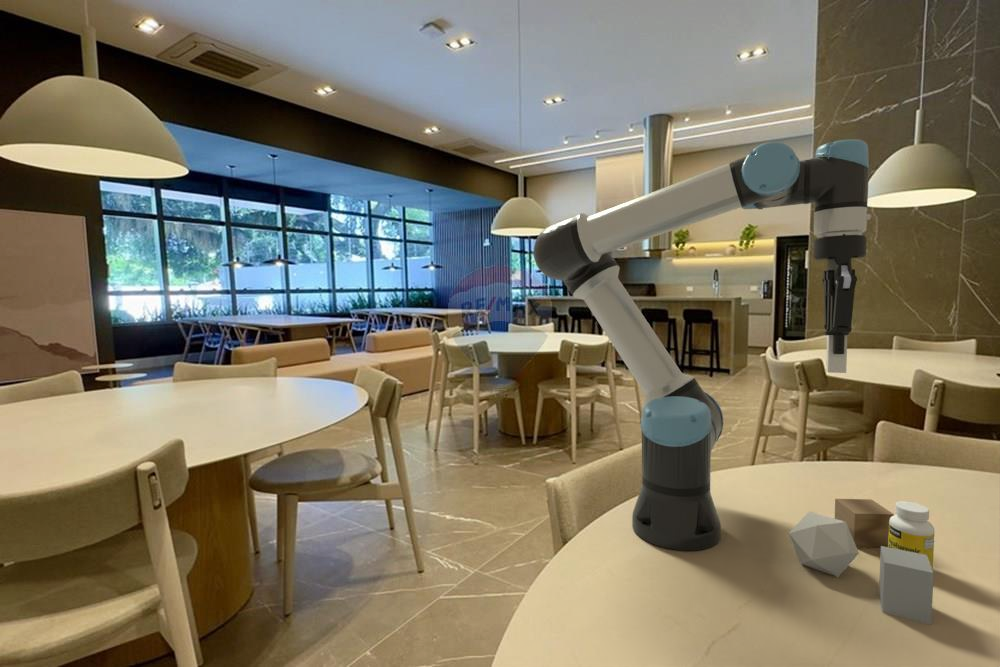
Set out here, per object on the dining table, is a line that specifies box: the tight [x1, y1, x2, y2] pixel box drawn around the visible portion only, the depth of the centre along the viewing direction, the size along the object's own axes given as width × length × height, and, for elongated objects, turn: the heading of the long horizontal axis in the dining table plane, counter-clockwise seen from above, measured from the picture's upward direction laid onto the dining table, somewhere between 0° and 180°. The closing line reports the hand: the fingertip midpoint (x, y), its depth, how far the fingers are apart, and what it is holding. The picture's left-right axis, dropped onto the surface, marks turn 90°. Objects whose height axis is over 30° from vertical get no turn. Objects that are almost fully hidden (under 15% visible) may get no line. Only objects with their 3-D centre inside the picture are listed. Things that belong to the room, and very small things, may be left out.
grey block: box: [878, 546, 934, 625], centre depth 68 cm, size 5×5×7 cm
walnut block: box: [834, 498, 895, 550], centre depth 86 cm, size 6×6×6 cm
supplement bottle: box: [888, 500, 935, 571], centre depth 77 cm, size 5×5×10 cm
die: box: [788, 511, 859, 578], centre depth 78 cm, size 8×9×10 cm
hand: (836, 371), depth 88 cm, fingers closed
